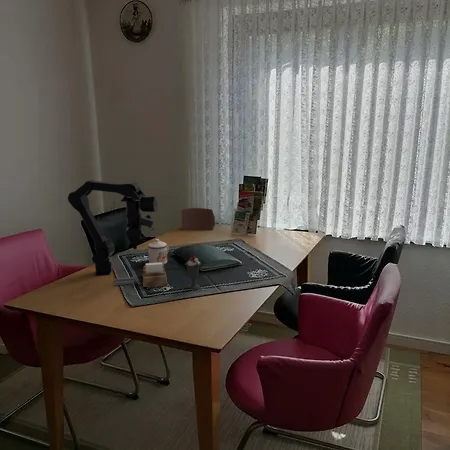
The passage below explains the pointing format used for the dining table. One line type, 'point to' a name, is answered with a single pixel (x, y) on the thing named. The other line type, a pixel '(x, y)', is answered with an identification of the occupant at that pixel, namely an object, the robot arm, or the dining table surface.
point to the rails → (124, 281)
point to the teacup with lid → (158, 252)
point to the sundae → (193, 270)
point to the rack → (154, 278)
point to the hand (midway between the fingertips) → (135, 246)
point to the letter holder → (198, 219)
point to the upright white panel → (154, 267)
